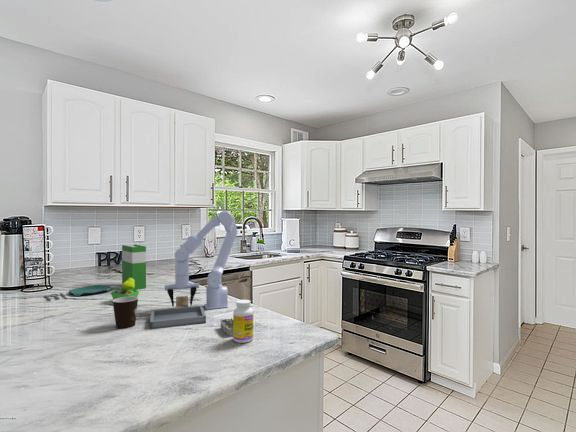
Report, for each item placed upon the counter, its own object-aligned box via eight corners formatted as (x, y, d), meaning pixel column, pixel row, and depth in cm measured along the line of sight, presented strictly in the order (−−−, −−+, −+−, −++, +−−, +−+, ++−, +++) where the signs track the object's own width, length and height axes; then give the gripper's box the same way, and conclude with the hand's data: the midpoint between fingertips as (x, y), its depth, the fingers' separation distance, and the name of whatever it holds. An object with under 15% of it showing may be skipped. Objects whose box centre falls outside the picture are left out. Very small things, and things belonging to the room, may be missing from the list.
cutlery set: (116, 292, 178) (115, 288, 178) (48, 303, 157) (48, 298, 157) (105, 287, 192) (105, 283, 192) (42, 296, 171) (41, 292, 171)
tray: (202, 311, 141) (202, 305, 141) (205, 322, 126) (205, 316, 126) (152, 316, 135) (152, 310, 135) (149, 328, 120) (149, 322, 120)
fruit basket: (109, 303, 156) (109, 279, 156) (125, 298, 164) (125, 276, 164) (127, 305, 151) (127, 281, 151) (142, 300, 160) (142, 277, 160)
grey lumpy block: (247, 334, 115) (247, 322, 115) (226, 338, 111) (226, 326, 111) (238, 325, 124) (238, 314, 124) (218, 328, 121) (218, 317, 121)
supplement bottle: (244, 345, 104) (244, 305, 104) (229, 341, 108) (228, 302, 108) (257, 338, 110) (257, 300, 110) (242, 334, 114) (242, 297, 114)
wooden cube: (187, 306, 149) (187, 295, 149) (188, 309, 145) (188, 298, 145) (176, 307, 148) (176, 296, 148) (176, 310, 143) (176, 299, 143)
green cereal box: (122, 285, 194) (122, 245, 194) (135, 283, 199) (135, 244, 199) (132, 290, 182) (132, 247, 182) (146, 288, 187) (145, 246, 187)
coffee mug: (127, 330, 118) (127, 302, 118) (107, 329, 120) (107, 301, 120) (147, 320, 129) (147, 295, 129) (128, 319, 131) (128, 294, 131)
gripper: (198, 272, 152) (198, 301, 152) (164, 274, 148) (164, 304, 148) (199, 274, 146) (199, 305, 146) (164, 277, 141) (164, 308, 141)
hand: (182, 305), depth 146 cm, fingers open, 7 cm apart
